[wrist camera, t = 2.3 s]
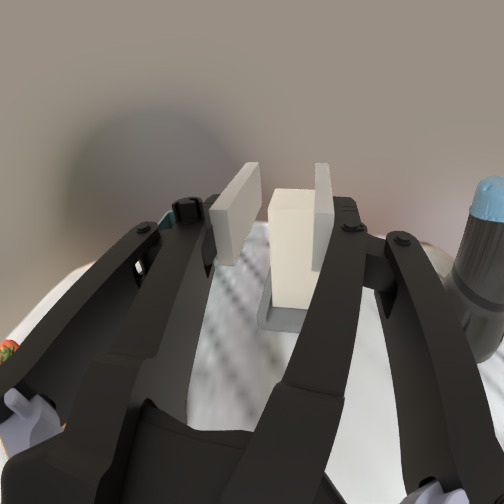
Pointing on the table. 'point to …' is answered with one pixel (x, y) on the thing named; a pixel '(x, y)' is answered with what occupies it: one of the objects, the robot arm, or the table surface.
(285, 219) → the cream block
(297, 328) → the grey chute
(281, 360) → the table surface
